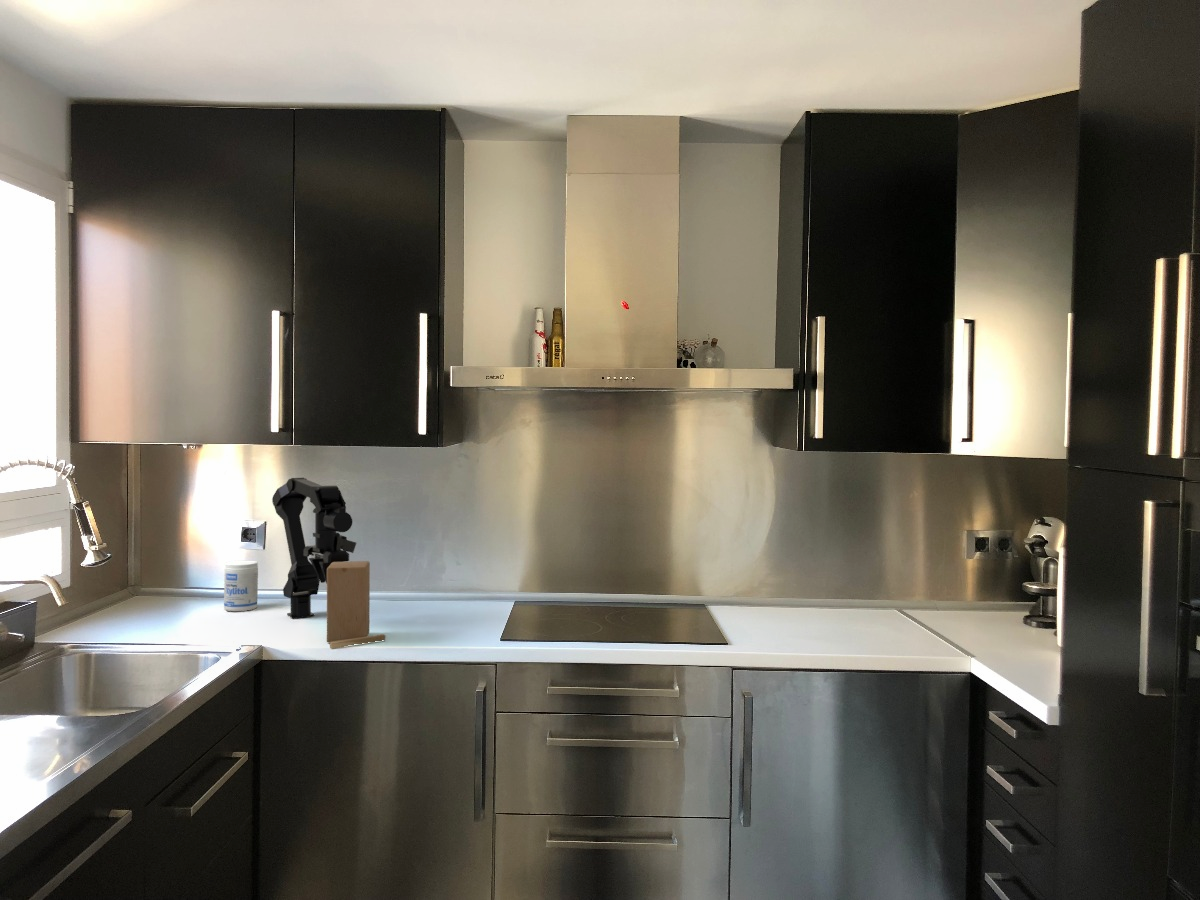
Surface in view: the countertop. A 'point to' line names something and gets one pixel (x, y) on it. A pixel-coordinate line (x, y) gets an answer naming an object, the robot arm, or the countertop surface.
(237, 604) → the supplement tub
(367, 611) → the wooden block
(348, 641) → the oak batten
